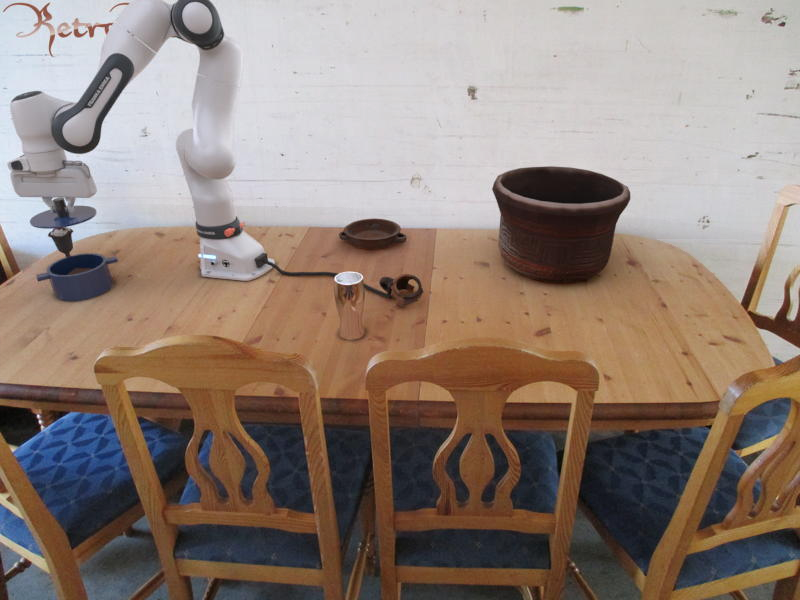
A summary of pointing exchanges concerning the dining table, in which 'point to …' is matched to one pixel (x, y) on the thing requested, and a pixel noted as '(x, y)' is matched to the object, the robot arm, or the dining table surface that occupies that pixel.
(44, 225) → the lid
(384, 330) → the dining table surface
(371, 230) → the dish
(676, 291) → the dining table surface
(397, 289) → the pottery mug
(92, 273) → the pot
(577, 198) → the ceramic pot
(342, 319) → the beer glass
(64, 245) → the sundae
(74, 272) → the brownie
